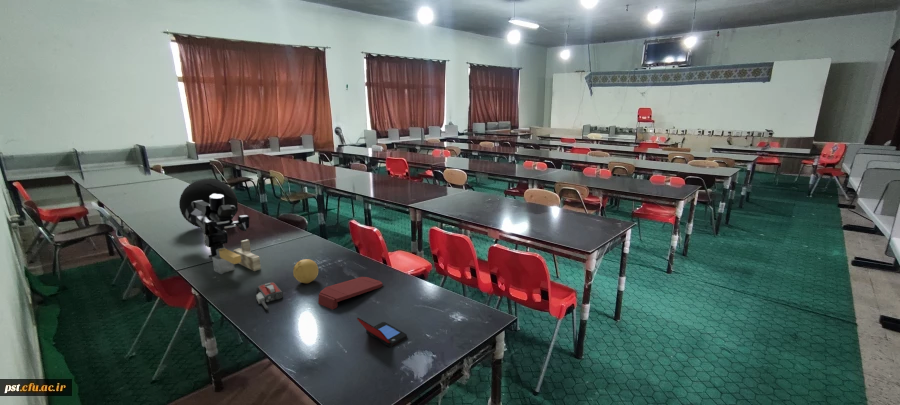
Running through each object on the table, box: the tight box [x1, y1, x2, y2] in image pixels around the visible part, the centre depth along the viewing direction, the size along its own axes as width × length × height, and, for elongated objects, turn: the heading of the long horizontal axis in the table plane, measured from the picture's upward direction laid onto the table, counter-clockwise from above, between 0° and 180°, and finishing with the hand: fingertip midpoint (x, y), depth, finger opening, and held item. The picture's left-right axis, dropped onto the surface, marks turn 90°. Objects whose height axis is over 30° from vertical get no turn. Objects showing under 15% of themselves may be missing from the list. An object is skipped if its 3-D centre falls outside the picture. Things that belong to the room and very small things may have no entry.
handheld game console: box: [356, 317, 408, 348], centre depth 125 cm, size 12×11×7 cm
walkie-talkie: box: [255, 281, 284, 311], centre depth 151 cm, size 9×4×20 cm
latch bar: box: [216, 247, 241, 265], centre depth 171 cm, size 16×4×3 cm, turn 53°
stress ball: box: [292, 258, 319, 284], centre depth 163 cm, size 10×10×10 cm
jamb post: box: [211, 256, 236, 275], centre depth 176 cm, size 6×6×7 cm
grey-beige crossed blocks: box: [233, 238, 262, 272], centre depth 182 cm, size 18×6×10 cm, turn 53°
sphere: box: [178, 178, 239, 229], centre depth 234 cm, size 30×30×30 cm
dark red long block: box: [318, 276, 383, 310], centre depth 155 cm, size 12×5×25 cm
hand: (235, 232), depth 173 cm, fingers open, 9 cm apart
